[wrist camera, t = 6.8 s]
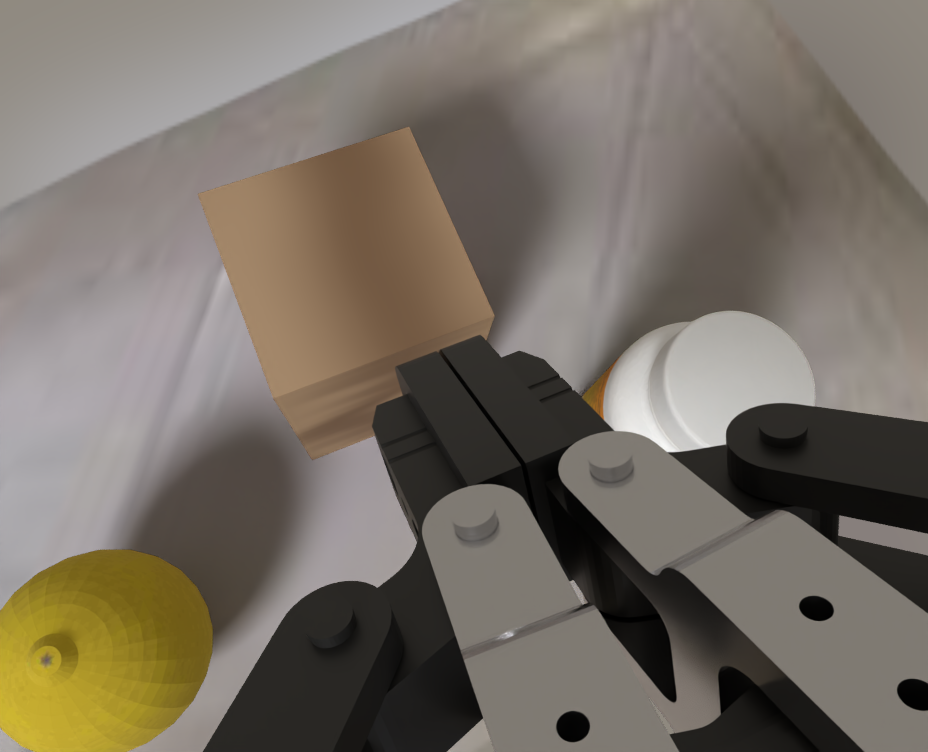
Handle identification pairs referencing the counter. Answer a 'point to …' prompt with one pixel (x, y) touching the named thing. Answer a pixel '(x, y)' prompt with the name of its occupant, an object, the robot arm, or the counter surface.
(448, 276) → the brown wooden block
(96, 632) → the lemon
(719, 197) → the counter surface
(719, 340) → the supplement bottle
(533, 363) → the robot arm
